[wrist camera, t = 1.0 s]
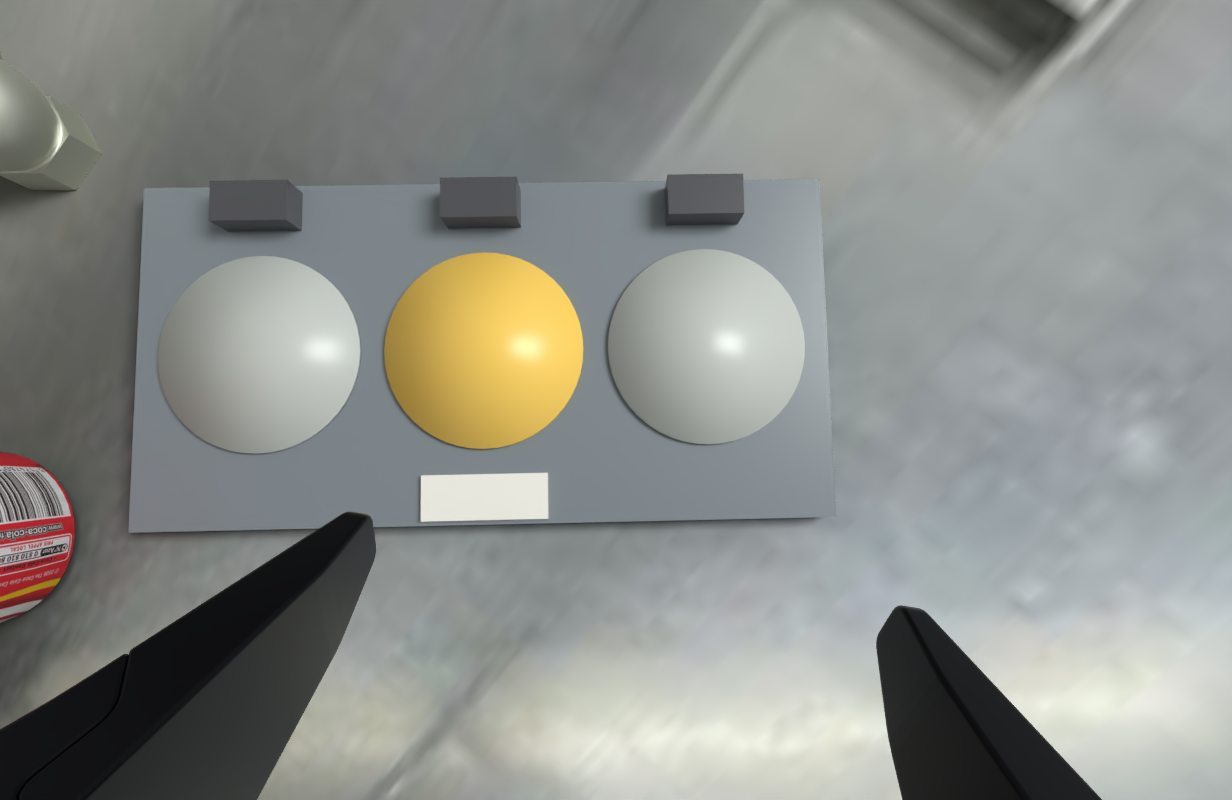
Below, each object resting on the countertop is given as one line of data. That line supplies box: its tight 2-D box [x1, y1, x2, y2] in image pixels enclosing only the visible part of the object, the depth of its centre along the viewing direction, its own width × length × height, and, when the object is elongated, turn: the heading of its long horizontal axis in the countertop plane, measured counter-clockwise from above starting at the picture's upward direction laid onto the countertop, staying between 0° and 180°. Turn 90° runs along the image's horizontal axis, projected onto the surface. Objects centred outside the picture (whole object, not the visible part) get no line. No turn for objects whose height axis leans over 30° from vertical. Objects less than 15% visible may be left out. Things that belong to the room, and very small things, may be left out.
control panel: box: [128, 174, 836, 533], centre depth 24 cm, size 28×14×2 cm, turn 91°
